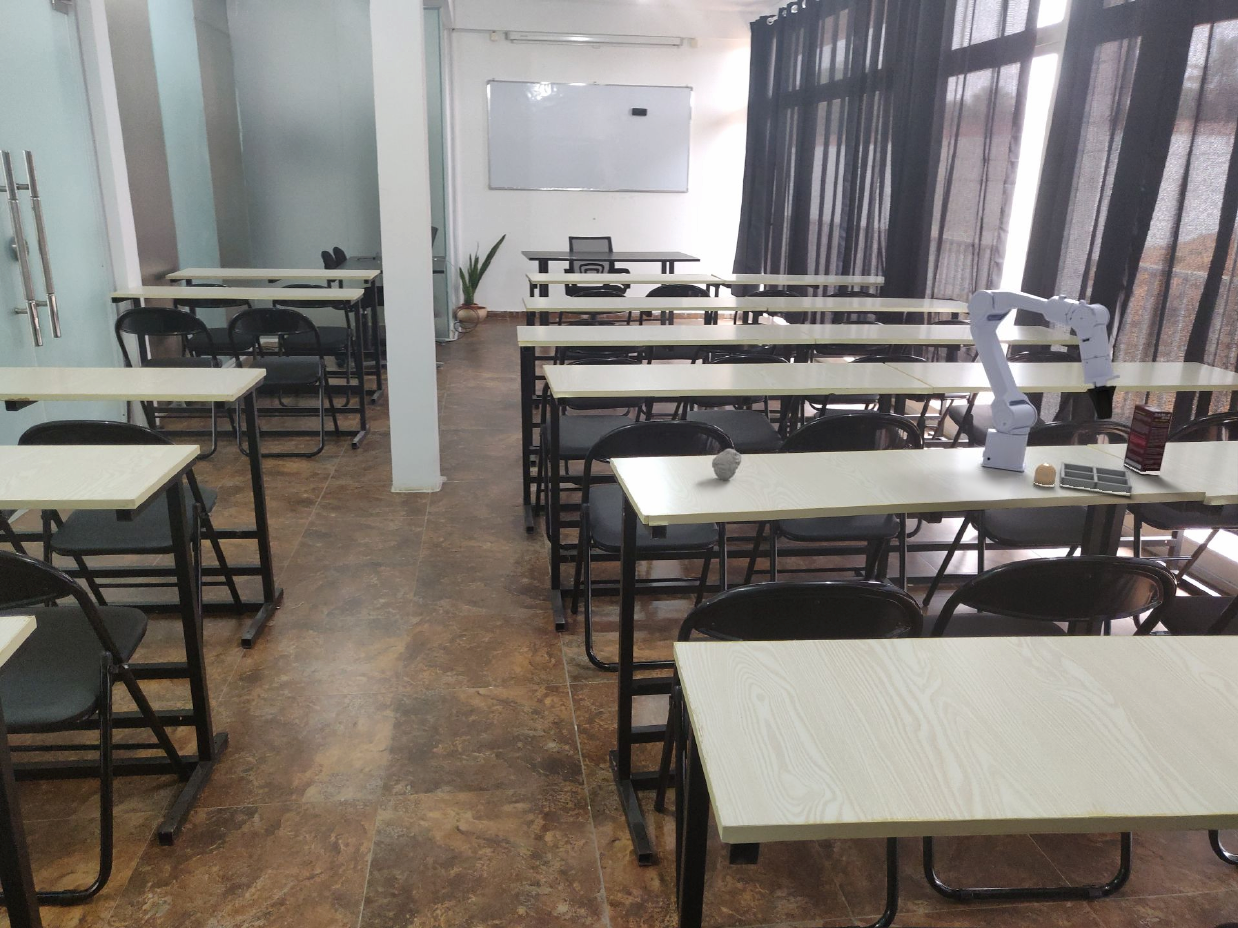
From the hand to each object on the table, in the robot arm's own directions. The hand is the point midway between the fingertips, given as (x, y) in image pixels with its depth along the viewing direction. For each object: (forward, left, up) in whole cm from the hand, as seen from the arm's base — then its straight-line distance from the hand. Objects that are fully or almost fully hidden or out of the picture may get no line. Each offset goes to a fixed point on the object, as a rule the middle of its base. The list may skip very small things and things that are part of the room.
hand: (1105, 419), depth 197 cm
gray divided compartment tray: (+1, +7, -17) cm, 18 cm away
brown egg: (-10, 0, -17) cm, 20 cm away
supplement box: (+12, +26, -17) cm, 33 cm away
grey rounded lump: (-75, -35, -17) cm, 85 cm away
